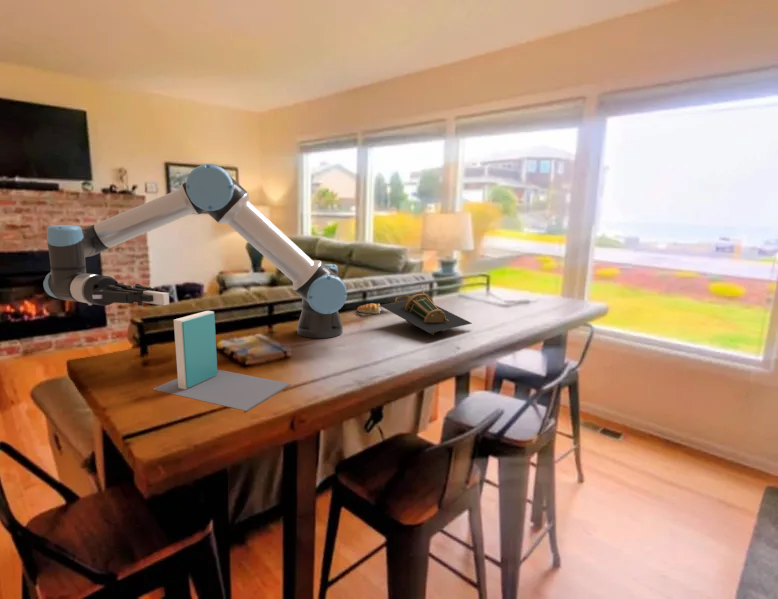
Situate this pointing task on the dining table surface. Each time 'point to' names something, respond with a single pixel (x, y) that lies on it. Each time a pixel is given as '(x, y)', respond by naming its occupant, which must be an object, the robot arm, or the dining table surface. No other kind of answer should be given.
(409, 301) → the lantern
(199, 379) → the tile
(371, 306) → the pastry
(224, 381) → the mat
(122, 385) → the dining table surface
